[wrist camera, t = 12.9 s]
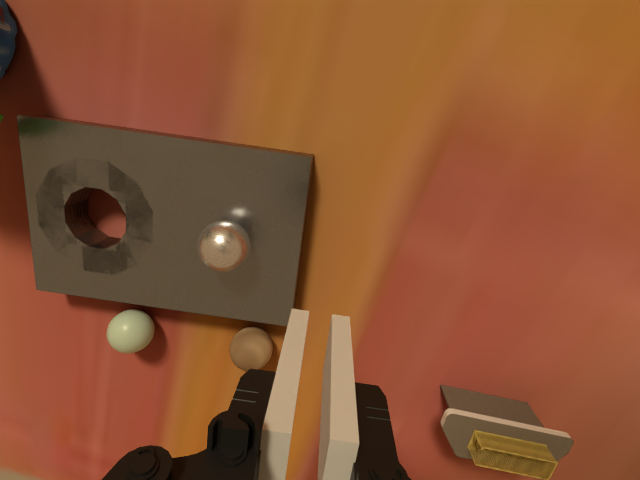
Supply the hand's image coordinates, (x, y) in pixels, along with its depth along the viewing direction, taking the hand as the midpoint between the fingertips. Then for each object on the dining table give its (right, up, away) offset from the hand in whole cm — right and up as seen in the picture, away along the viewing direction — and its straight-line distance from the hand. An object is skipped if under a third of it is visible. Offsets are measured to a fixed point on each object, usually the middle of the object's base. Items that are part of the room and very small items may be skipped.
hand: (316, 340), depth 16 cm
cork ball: (-6, -5, +14) cm, 16 cm away
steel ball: (-6, +4, +9) cm, 11 cm away
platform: (+15, -10, +17) cm, 25 cm away
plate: (-11, +6, +13) cm, 18 cm away
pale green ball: (-15, -3, +14) cm, 21 cm away
